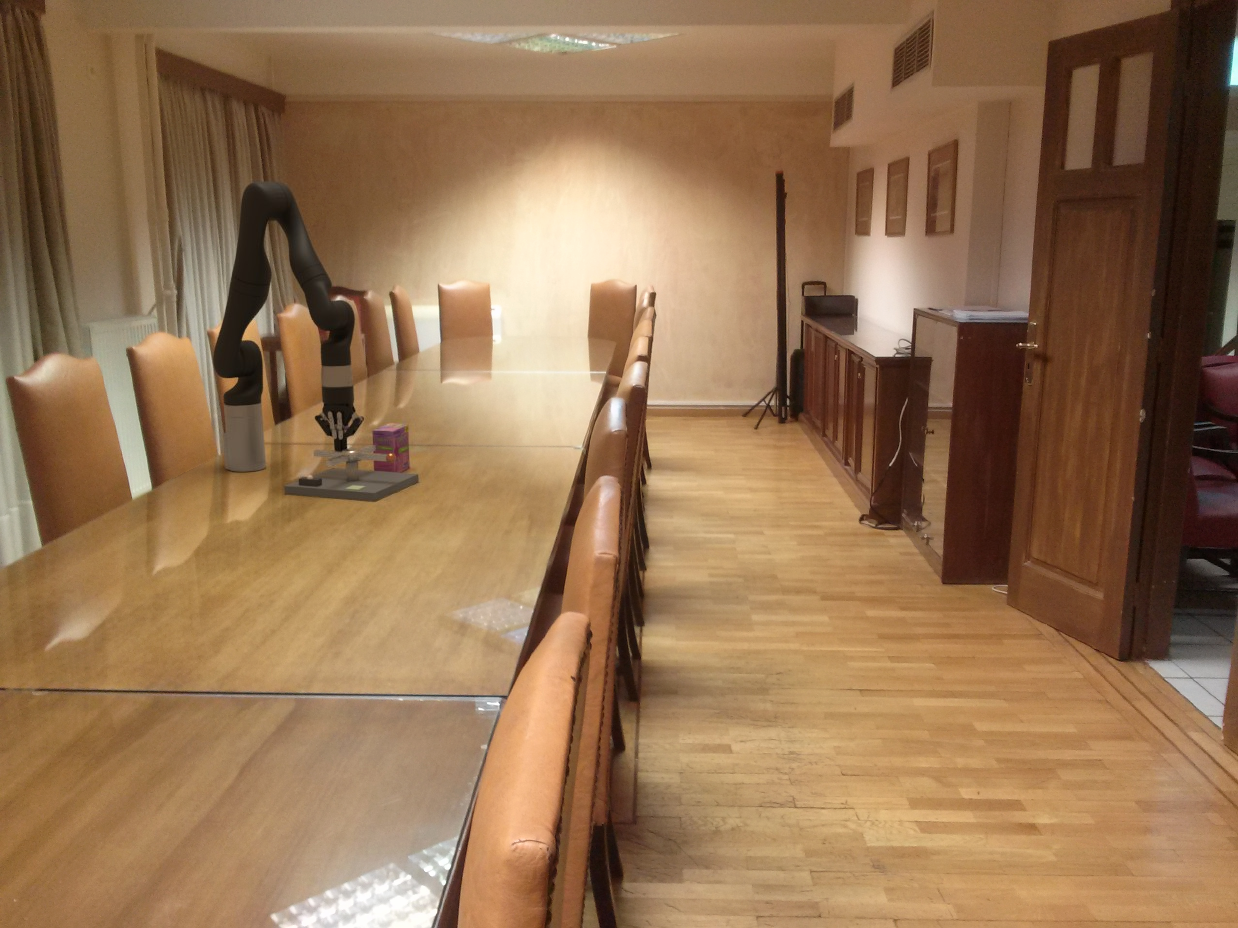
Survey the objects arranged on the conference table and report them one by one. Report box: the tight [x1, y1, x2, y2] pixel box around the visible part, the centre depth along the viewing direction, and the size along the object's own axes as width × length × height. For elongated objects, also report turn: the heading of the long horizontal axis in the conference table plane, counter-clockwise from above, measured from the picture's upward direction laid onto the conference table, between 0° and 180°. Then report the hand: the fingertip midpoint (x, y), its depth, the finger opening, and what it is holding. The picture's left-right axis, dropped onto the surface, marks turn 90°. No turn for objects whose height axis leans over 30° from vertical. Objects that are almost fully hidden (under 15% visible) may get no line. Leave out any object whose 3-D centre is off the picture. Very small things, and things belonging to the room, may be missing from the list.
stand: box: [284, 461, 420, 502], centre depth 260 cm, size 24×21×6 cm
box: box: [372, 422, 411, 473], centre depth 277 cm, size 10×6×12 cm, turn 168°
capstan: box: [313, 444, 396, 468], centre depth 259 cm, size 22×20×2 cm
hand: (341, 453), depth 266 cm, fingers closed
